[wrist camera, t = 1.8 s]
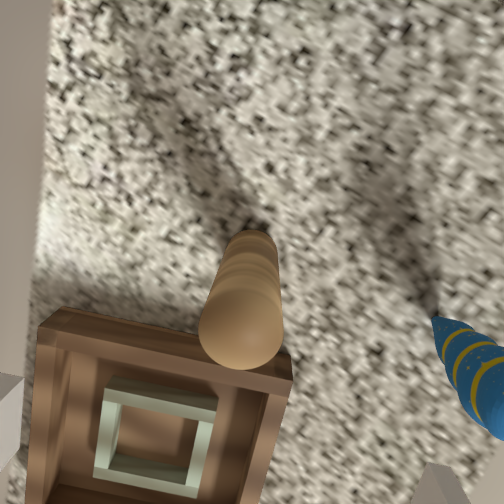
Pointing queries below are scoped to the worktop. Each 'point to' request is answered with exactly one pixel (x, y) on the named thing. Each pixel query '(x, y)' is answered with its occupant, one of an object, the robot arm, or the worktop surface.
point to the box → (147, 416)
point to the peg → (244, 304)
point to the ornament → (473, 371)
